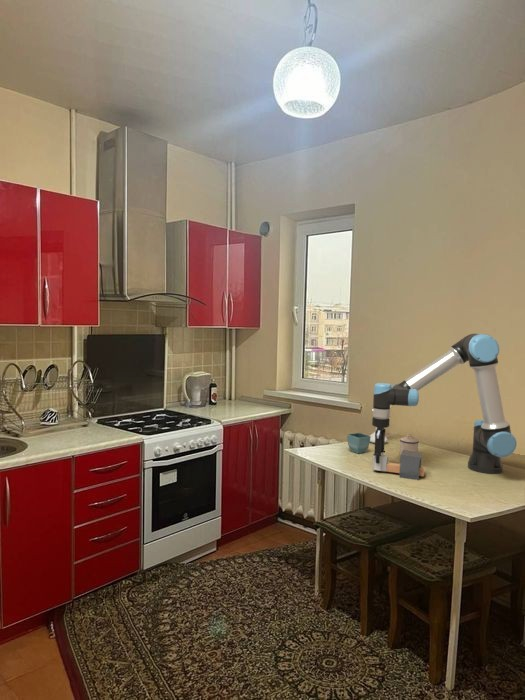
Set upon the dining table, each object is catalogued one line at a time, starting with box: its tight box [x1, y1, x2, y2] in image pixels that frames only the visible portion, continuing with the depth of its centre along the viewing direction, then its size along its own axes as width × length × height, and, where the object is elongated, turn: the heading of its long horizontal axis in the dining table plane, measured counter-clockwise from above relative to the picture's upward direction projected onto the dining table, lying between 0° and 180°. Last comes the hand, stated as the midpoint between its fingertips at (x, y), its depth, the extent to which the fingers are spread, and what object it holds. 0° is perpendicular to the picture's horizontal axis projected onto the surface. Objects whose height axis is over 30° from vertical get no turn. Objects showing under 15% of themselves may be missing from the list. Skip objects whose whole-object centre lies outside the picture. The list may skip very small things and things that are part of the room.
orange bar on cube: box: [372, 454, 426, 477], centre depth 225 cm, size 22×5×6 cm, turn 68°
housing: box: [399, 450, 423, 481], centre depth 223 cm, size 8×10×10 cm
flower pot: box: [346, 432, 371, 454], centre depth 260 cm, size 9×9×9 cm
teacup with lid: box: [399, 433, 420, 457], centre depth 254 cm, size 12×9×12 cm
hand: (378, 468), depth 228 cm, fingers closed on orange bar on cube, 5 cm apart
